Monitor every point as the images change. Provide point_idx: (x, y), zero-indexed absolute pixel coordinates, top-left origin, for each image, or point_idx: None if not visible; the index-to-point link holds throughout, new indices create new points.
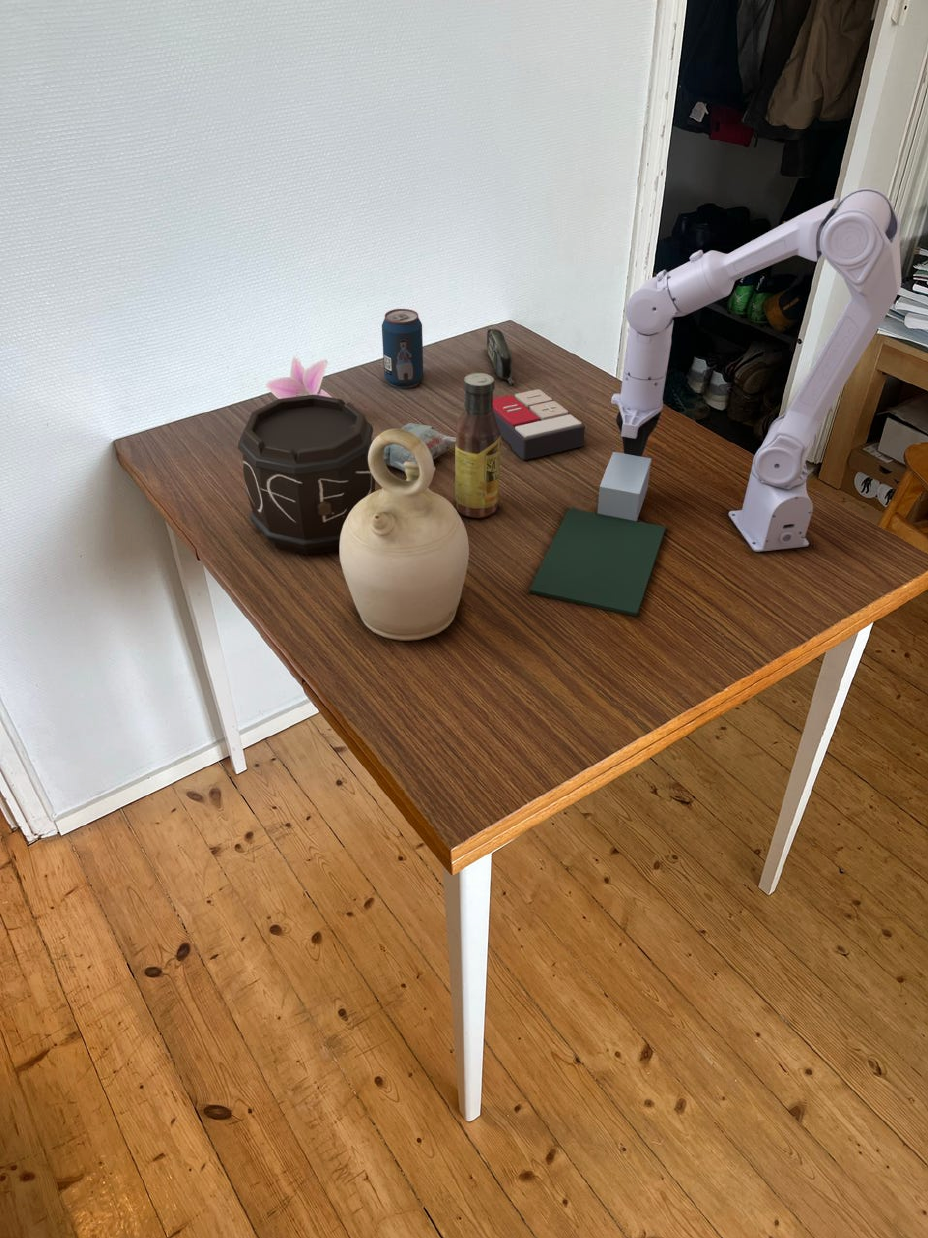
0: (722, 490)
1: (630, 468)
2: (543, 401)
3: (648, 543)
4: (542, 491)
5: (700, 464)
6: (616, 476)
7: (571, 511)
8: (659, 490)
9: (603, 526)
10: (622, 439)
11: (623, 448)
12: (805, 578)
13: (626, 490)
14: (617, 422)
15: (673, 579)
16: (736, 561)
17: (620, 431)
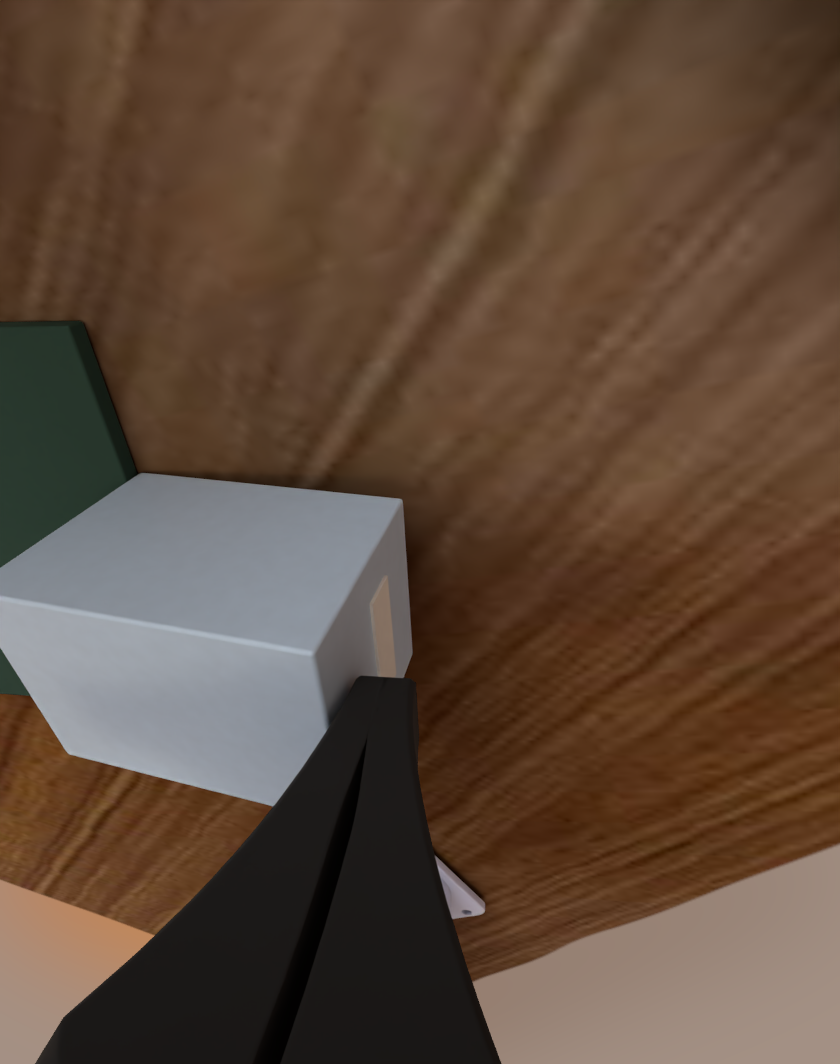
0: (551, 813)
1: (204, 736)
2: None
3: None
4: (170, 46)
5: (738, 765)
6: (96, 672)
7: (48, 351)
8: (479, 662)
9: (55, 524)
10: (268, 815)
11: (325, 736)
12: None
13: (43, 709)
14: (39, 1062)
15: (4, 725)
16: (193, 828)
17: (180, 912)
